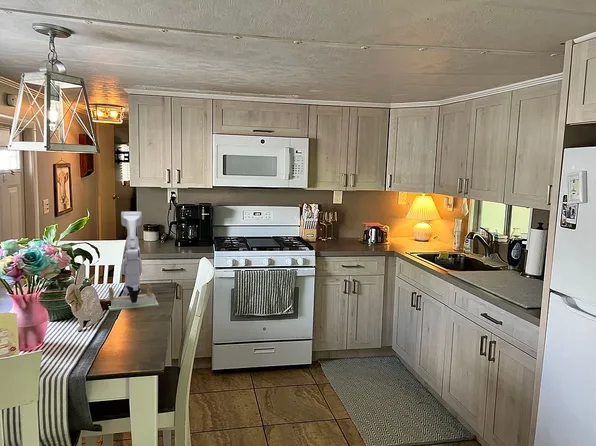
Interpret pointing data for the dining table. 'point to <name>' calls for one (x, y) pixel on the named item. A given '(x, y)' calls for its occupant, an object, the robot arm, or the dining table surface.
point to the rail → (128, 302)
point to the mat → (133, 306)
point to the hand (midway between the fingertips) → (133, 301)
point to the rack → (111, 296)
